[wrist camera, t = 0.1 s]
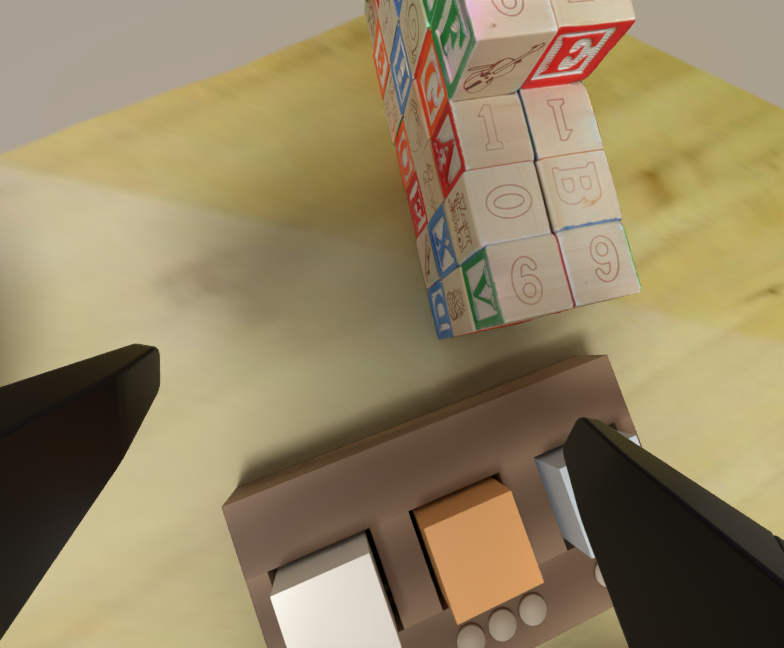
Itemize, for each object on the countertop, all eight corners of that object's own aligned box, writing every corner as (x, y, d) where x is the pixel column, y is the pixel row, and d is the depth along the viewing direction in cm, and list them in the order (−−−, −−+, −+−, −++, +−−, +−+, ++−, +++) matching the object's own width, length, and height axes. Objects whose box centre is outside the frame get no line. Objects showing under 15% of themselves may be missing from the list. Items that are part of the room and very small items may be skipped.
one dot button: (392, 611, 21) (402, 651, 18) (308, 651, 20) (304, 700, 17) (363, 526, 21) (369, 553, 18) (278, 563, 20) (269, 596, 17)
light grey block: (625, 501, 23) (668, 521, 20) (557, 533, 22) (592, 558, 19) (597, 426, 23) (636, 435, 20) (529, 455, 23) (559, 469, 20)
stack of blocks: (532, 320, 26) (714, 279, 13) (436, 342, 25) (538, 318, 12) (454, 1, 27) (555, -295, 15) (361, 9, 26) (386, -303, 14)
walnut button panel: (645, 544, 25) (690, 569, 22) (309, 711, 21) (305, 770, 18) (575, 355, 26) (609, 354, 22) (236, 488, 22) (220, 508, 19)
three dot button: (515, 553, 22) (544, 582, 19) (439, 589, 21) (457, 625, 18) (486, 474, 22) (510, 490, 19) (411, 506, 21) (424, 529, 18)
